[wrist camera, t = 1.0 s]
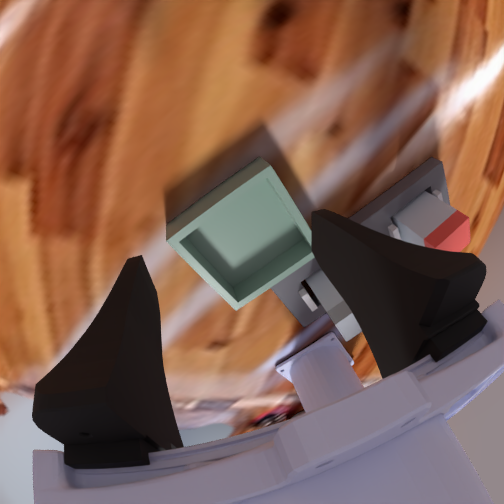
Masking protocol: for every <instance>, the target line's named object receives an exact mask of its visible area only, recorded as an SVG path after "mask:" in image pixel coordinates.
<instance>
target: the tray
mask: <svg viewBox="0 0 504 504" xmlns="http://www.w3.org/2000/svg"><path fill="white" fill-rule="evenodd" d="M311 232H312V231H311V230H310V228H309V226H308V225H307V223H306V221H305V220H304V218H303V216H302V215H301V213H300V211H299V210H298V208H297V206H296V205H295V203H294V201H293V200H292V198H291V197H290V195H289V193H288V192H287V190H286V189H285V187H284V185H283V184H282V182H281V181H280V179H279V177H278V176H277V174H276V173H275V171H274V170H273V168H272V166H271V165H270V164H269V163H267V162H266V161H265V160H264V159H262V158H261V157H258V158H257V159H255V160H254V161H253V162H251V163H250V164H248V165H247V166H245V167H244V168H242V169H241V170H240V171H238V172H237V173H235V174H234V175H233V176H231V177H230V178H228V179H227V180H226V181H224V182H223V183H221V184H220V185H219V186H217V187H216V188H214V189H213V190H212V191H210V192H209V193H208V194H206V195H205V196H204V197H202V198H201V199H200V200H198V201H197V202H196V203H194V204H193V205H192V206H190V207H189V208H188V209H186V210H185V211H184V212H182V213H181V214H180V215H178V216H177V217H176V218H175V219H173V220H172V221H171V222H169V223H168V224H167V225H166V241H167V242H168V244H169V245H170V246H171V247H172V248H173V249H174V250H175V251H176V252H177V253H178V254H179V255H180V256H181V257H182V258H183V259H184V260H185V261H186V262H187V263H188V264H189V265H190V266H191V267H192V268H193V269H194V270H195V271H196V272H197V273H198V274H199V275H200V276H201V277H202V278H203V279H204V280H205V281H206V282H207V283H208V284H209V285H210V286H211V287H212V288H213V289H214V290H215V291H216V292H217V293H218V294H219V295H220V296H221V297H222V298H223V299H224V300H225V301H227V302H228V303H229V304H230V305H231V306H232V307H233V308H234V309H235V310H238V309H239V308H241V307H242V306H244V305H245V304H247V303H249V302H250V301H252V300H253V299H255V298H256V297H258V296H259V295H261V294H262V293H263V292H265V291H266V290H268V289H269V288H271V287H272V286H274V285H275V284H277V283H278V282H280V281H281V280H283V279H284V278H286V277H287V276H289V275H290V274H291V273H293V272H294V271H296V270H297V269H299V268H300V267H302V266H303V265H304V264H306V263H307V262H309V261H310V260H312V259H313V258H315V257H314V255H313V253H312V251H311Z"/></svg>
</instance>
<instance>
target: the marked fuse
mask: <svg viewBox="0 0 504 504" xmlns="http://www.w3.org/2000/svg"><path fill="white" fill-rule="evenodd" d="M390 218H391V221H392V224H393V225H395V226H396V227H397V228H398V231H399V234H400V238H401V240H402V241H405V242H409V243H412V244H416V245H420V246H424V247H429V248H434V249H439V250H445V251H452V252H460V251H461V250H462V249H463V248H464V247H465V246H467V245H468V244H469V243H470V225H469V217H467V216H466V215H464V214H463V213H461V212H460V211H458V210H456V209H455V208H453V207H452V206H450V205H448V204H447V203H445V202H443V201H442V200H440V199H438V198H437V197H435V196H433V195H432V194H430V193H428V192H426V191H424V192H422V193H421V194H420V195H419V196H417V197H416V198H415V199H413V200H412V201H411V202H410V203H408V204H407V205H406V206H404V207H403V208H402V209H401V210H399V211H398V212H397V213H395V214H394V215H393V216H391V217H390Z"/></svg>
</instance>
